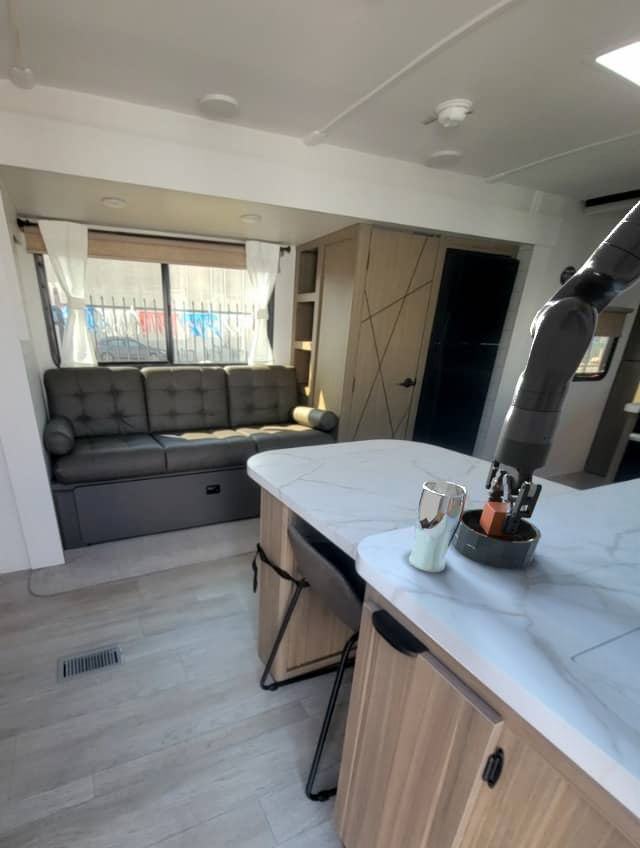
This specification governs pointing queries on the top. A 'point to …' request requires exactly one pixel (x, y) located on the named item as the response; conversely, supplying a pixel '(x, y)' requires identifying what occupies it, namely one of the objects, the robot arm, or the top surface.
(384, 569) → the top surface
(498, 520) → the terracotta block
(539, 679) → the top surface
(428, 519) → the beer glass
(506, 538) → the walnut block
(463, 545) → the shallow dark bowl
